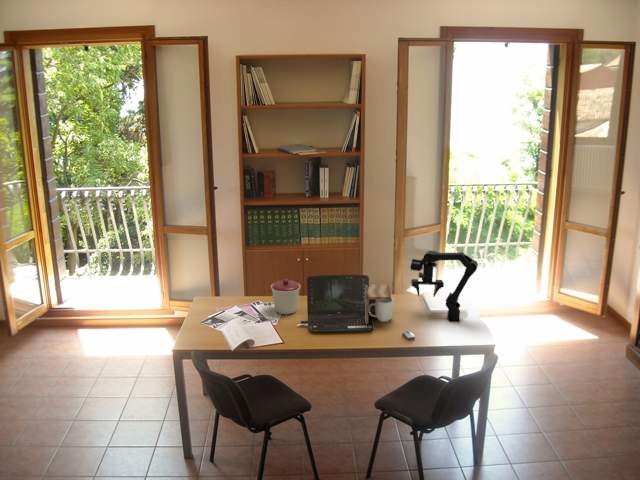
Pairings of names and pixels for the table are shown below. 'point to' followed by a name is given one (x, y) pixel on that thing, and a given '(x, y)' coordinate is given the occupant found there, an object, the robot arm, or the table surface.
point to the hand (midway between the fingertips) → (426, 296)
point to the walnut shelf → (375, 297)
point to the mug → (383, 309)
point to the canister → (285, 296)
